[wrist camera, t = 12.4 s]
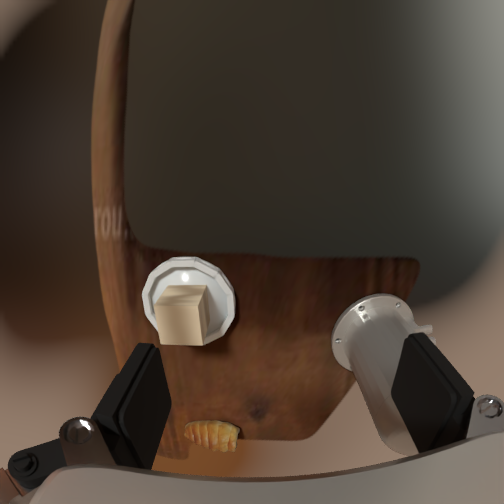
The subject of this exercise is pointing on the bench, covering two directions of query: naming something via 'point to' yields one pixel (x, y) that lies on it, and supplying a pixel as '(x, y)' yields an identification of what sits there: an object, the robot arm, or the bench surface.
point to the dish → (193, 274)
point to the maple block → (183, 315)
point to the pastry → (213, 435)
